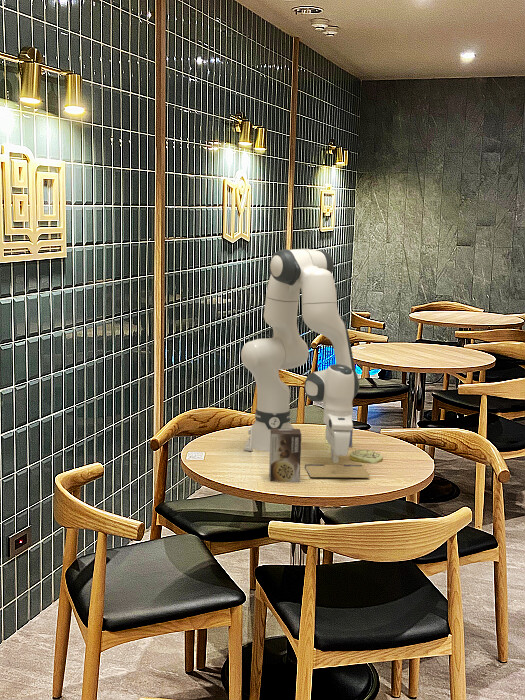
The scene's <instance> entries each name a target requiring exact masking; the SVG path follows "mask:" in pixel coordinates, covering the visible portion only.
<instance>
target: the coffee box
mask: <svg viewBox="0 0 525 700" xmlns="http://www.w3.org/2000/svg"><path fill="white" fill-rule="evenodd" d="M301 453H302V433H301V429H300V428H294V429H272V428H271V432H270V452H269V462H268V463H269V466H268V467H269V469H268V470H269V473H268V478H269V482H273V483H275V482H276V483H300V482H301V461H302V460H301V457H302V456H301V455H302V454H301Z"/></svg>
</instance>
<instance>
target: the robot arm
mask: <svg viewBox="0 0 525 700" xmlns="http://www.w3.org/2000/svg"><path fill="white" fill-rule="evenodd" d="M334 267H335V264H334V260H333V256H332V255H331V254H330V253H329V252H327V251H325V250H322V249H312V248H297V249H296V248H294V249H288V248H287V249H286V248H285V249H280V250H277V251H275V252H274V253H273V254H272V256H271V258H270V260H269V272H270V276H269V279H268V283H267V287H266V295H265V301H264V310H263V319H264V321H265V323H266V324H267V325H268V326H269V327H271V328H272V332H273V337H269V338H268V337H267V338H264V337H263V338H257V339H252V340H249V341H247V342H246V343H244V345H243V346H242V349H241V352H240V357H241V362H242V365H243V366H244V367H245V369H247V370H248V371H249V372H250V373H251V375H252V376H253V379H254V381H255V384H256V399H257V400H256V409H255V413H254V419H255V421H254V423H253V424H252V425H251V426H250V427H249V428H248V430H247V431H248V432H247V433H248V435H250V436H249V437H248V439H247V441H246V442H245V445H244V447H243V451H248V452H253V450H257V451H261V452H268V453H270V432H271V428H272V429H295V427H294V426H293V425H292V424H291V422H290V421H291V416H292V415H291V409H290V403H291V401H290V400H291V398H290V397H291V396H290V395H291V390H290V387H289V385H288V384H286V383H285V382H284V381H282V380H281V377H280V373H279V372H280V370H281V371H282V370H289V369H290V370H293V369H296V368H298V367H302V366H303V365H305V364H306V363H307V361H308V360H309V359H308V358H309V353H310V352H309V347H308V344H307V343H306V341H304V339H303V338H302V336H301V334H300V332H299V329H298V324H297V323H298V322H297V321H298V311H299V301H300V292H301V315H302V320H303V322H304V324H305V325H306V326H307V327H308V329H309V330H311V331H313V332H315V333H317V334H319V335H321V336H324V337H325V338H327V339H328V340H329V341H330V342H331V344H332V346H333V352H334V358H335V363H334V364H331V365H329V366H328V367H327V368H326V369H323V370H319V371H314V372H311V373H309V374H308V375H307V376H306V378H305V381H304V387H303V388H304V389H303V390H304V392H305V395H306V397H307V398H308V400H310V401H311V402H315V403H324V407H323V417H322V418H323V421H322V422H323V424H324V425H325V433H324V434H325V435H324V436H325V440H327V443H328V445H329V446H330V453H331V456H330V459H331V462H332V463H334V464H339V462H340V456H343V457H344V456H347V455H348V452H349V448H350V447H349V442H350V431H352V430H353V429H354V423H353V415H354V414H353V413H354V406H353V400H354V398H355V397H356V396H357V394H358V393H359V390H360V381H359V377H358V374H357V370H356V368H355V362H354V357H353V350H352V344H351V339H350V334H349V331H348V326H347V323H346V322H345V321H344V320H343V319H342V318H341V316H340V313H339V310H338V302H337V301H338V300H337V298H338V297H337V290H336V289H337V288H336V284H335V279H334V276H333V274H334V273H333V272H334Z"/></svg>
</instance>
